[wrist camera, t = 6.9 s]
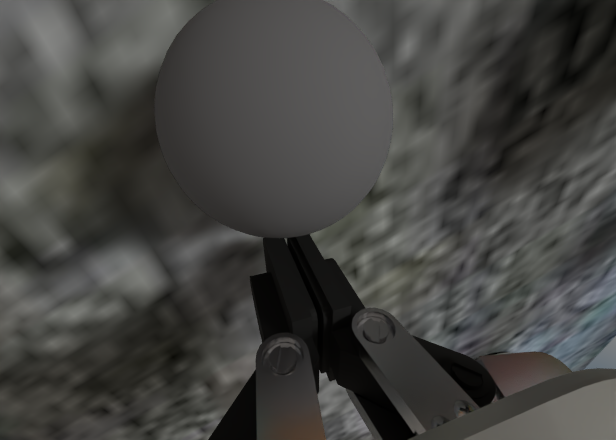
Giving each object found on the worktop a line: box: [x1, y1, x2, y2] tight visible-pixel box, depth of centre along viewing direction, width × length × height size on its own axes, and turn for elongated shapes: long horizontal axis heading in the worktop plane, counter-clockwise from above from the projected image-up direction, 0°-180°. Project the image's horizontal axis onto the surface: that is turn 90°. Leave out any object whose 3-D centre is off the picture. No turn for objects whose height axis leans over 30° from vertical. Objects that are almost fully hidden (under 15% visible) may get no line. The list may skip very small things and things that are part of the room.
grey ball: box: [154, 0, 393, 238], centre depth 7 cm, size 6×6×6 cm
